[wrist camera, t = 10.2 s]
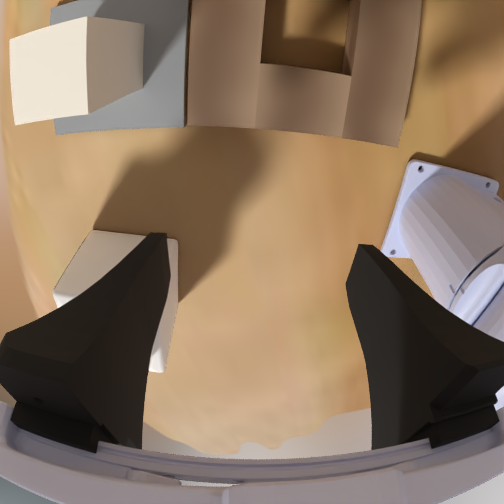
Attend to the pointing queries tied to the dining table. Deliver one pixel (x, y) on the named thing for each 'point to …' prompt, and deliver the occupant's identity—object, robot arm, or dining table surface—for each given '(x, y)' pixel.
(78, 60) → the peg
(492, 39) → the dining table surface
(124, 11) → the mat
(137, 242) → the white bottle
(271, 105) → the pocket block
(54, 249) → the dining table surface
